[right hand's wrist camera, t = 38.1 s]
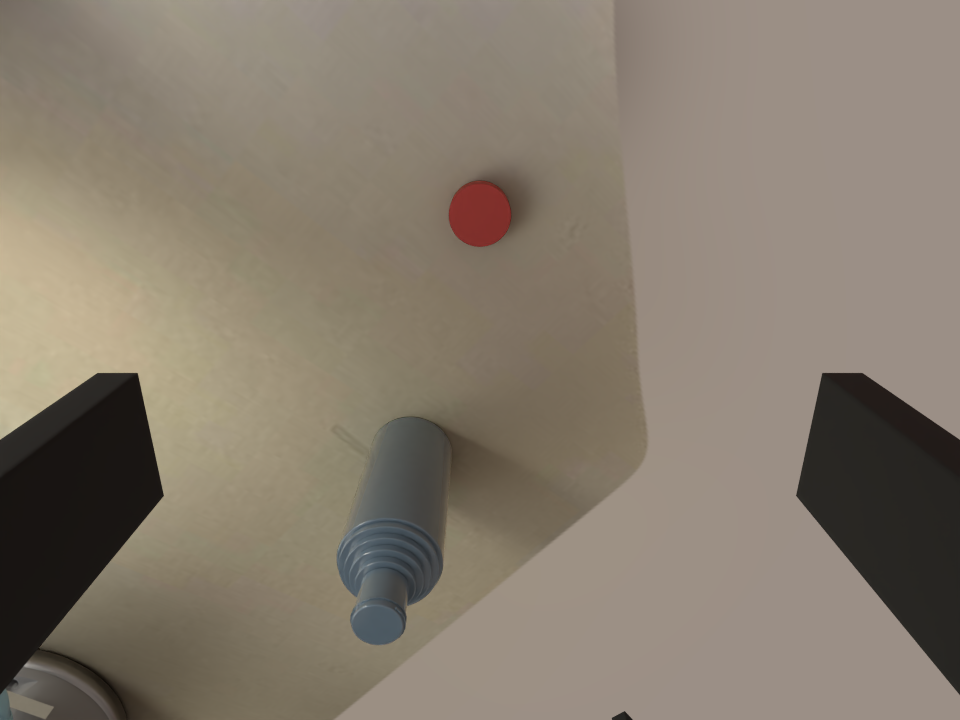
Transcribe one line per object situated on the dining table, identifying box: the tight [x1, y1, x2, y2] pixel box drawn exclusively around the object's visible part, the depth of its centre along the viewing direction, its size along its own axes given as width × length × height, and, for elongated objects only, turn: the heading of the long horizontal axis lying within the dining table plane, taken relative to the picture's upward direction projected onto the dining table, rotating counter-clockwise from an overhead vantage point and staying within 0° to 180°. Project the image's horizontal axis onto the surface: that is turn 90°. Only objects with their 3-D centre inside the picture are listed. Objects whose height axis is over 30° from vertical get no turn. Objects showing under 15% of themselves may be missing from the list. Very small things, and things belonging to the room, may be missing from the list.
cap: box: [449, 181, 511, 247], centre depth 40 cm, size 4×4×2 cm
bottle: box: [337, 417, 452, 645], centre depth 39 cm, size 6×6×17 cm
